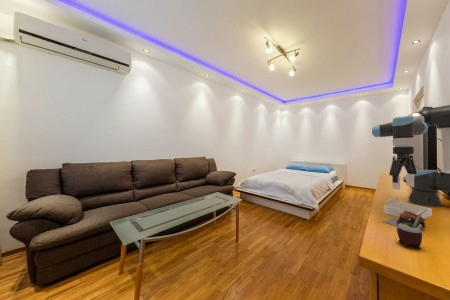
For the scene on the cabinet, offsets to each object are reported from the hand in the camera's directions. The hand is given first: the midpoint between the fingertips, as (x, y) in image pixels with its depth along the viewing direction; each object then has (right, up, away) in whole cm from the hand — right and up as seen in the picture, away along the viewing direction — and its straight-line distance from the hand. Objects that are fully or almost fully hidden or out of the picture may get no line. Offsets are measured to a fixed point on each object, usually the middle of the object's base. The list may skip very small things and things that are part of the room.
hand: (403, 187), depth 89 cm
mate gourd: (-17, -19, -19) cm, 32 cm away
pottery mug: (-3, -20, -5) cm, 20 cm away
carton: (+15, -19, +12) cm, 27 cm away
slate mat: (0, -19, 0) cm, 19 cm away
